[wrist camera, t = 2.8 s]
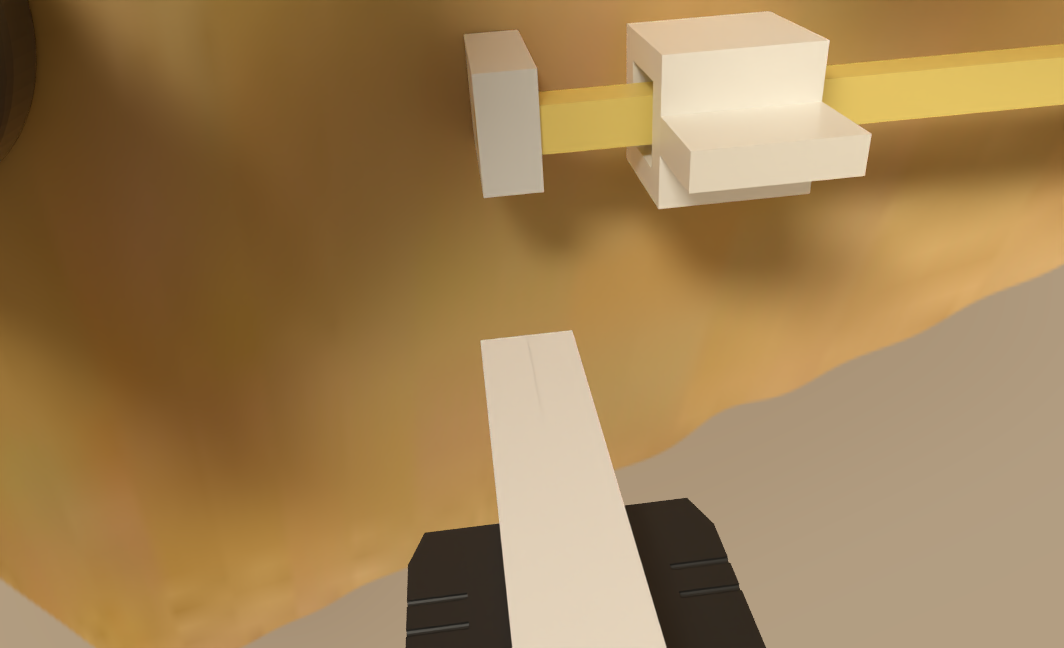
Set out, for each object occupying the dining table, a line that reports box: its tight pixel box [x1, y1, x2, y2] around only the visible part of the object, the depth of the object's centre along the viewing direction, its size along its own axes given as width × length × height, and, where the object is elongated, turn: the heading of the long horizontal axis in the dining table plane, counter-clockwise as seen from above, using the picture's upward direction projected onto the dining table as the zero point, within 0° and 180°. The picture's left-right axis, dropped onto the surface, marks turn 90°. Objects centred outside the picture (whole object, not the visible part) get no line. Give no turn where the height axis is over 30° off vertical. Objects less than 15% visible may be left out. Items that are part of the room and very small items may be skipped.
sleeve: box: [626, 11, 872, 209], centre depth 25 cm, size 5×5×8 cm
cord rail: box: [464, 30, 1064, 198], centre depth 28 cm, size 34×4×7 cm, turn 94°
